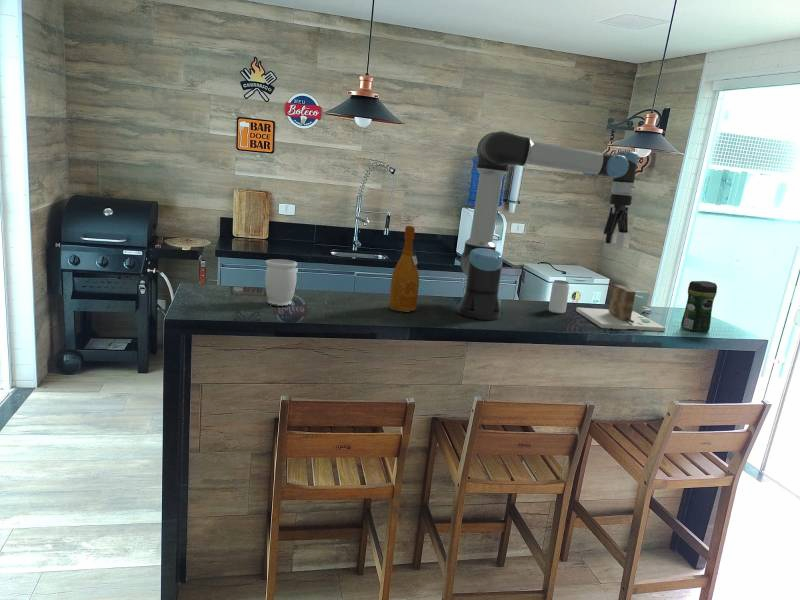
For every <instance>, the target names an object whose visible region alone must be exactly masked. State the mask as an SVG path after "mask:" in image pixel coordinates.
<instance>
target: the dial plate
mask: <svg viewBox="0 0 800 600" xmlns="http://www.w3.org/2000/svg"><path fill="white" fill-rule="evenodd" d="M575 311H576V312H577V313H579V315H582V316H583V317H584V318H586V319H587V320H589V321H590V322H592V323H594V324H595V325H596V326H598V327H599V328H601V329H611V328H612V329H613V330H627V329H638V330H637V331H643V330H652V331H651V332H659V331H665V332H666V327H665V326H663V325H661V324H659V323H657V322H655V321H653V320H652V319H650V318H648V317H646V316H644V315H642V314H641V315H640V314H639V313H637V312H635V311H632V314H631V320H633V321H634V323H631V322H630V321H625V320H621V319H619V318H618V317H616V316H614V315H613V314H611V313H609V308H608V309H607V308H595V307H594V308H590V307H578V306H577V307H576V309H575ZM653 330H654V331H653Z"/></svg>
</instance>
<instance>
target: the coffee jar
mask: <svg viewBox="0 0 800 600" xmlns="http://www.w3.org/2000/svg"><path fill="white" fill-rule="evenodd" d="M717 290H718V286H717V284H716V283H715V282H711V281H707V280H691V281H690V282H689V284H688V288H687V300H686V303H685V304H686V305H685V308H684V312H683V316H682V319H681V323H680V327H681V328H682V329H683V328H684V329H683V330H685V329H686V331H692V332H696V333H702V332H708V331H710V328H711V323H712V322H711V320H712V313H713V312H712V311H713V306H714V301H715V297H716V296H717V292H718V291H717Z"/></svg>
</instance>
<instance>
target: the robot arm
mask: <svg viewBox="0 0 800 600" xmlns="http://www.w3.org/2000/svg"><path fill="white" fill-rule="evenodd" d="M476 155H477V161H476V167H475V169H476V170H477V172H478V174H479V176H478V182H477V189H476V195H475V202H474V210H473V215H472V216H473V217H472V221H471V229H470V235H469V236H470V237H469V238H468V239H467V240H465V242H464V249H463V251H462V254H461V256H460V268H461V270H462V272H463V274H465V275H466V276H467V277H466V284H465V292H464V294H463V296H462V298H461V301H460V303H459V306H458V312H459V313H460V314H459V313H458V314H459V315H461V314H462V315H461V316H463V315H464V316H463V317H465V316H467V317H466V318H469V317H471V319H474V318H476V319H475V320H483V321H486V320H487V321H492V320H493V321H495V320H498V319H500V318H501V314H502V312H501V311H502V310H501V306H500V301H499V289H500V283H501V282H500V281H501V274H502V267H503V254H502V253H501V252H500V251H497V250H496V249H497V245H496V243H495V242H494V235H495V228H496V224H497V223H496V222H497V216H498V209H499V204H500V198H501V193H502V192H501V191H502V185H503V179H504V177H505V175H507V174H508V173H509V168H510V166H519V167H520V166H521V167H524V166H526V165H533V166H538V167H539V166H540V167H546V168H553V169H558V170H564V171H572V172H577V173H582V174H583V175H585V176H590V177H602V178H604V177H605V178H606V177H607V178H613V179H612V185H611V191H610V192H611V194H610V197H609V199H610V200H609V204H610V205H613V206H612V207H611V206H610V207H609V209H610V210H609V214H608V218H607V221H606V223H605V227H604V231H603V235H605V236H604V237H605V238H604V239H605V240H604V245H603V252H604V253H605V252H606V253H612V250H613V243H614V237H615V235H614V232H615V230H616V227H617V228H618V232H617V233H616V240H615V247H614V250H623V248H624V242H625V235H626V234H628V232H629V230H628V229H629V228H628V226H629V225H628V222H629V221H628V219H629V218H628V213H629V212H628V211H629V207H628V206H631V205H632V199H633V196H632V194H633V192H634V189H635V188H636V186H635V180H636V173H637V167H638V162H639V161H638V160H639V157H638V156H639V155H638V153H637V152H635V151H617V152H616V154H610V153H603V152H599V151H594V150H593V151H592V150H586V149H581V148H576V147H575V148H574V147H569V146H562V145H556V144H551V143H546V142H545V143H544V142H540V141H539V142H538V141H532V139H531V137H527V136H521V135H517V134H514V133H511V132H507V131H504V130H503V131H502V130H499V131H495V132H494V131H493V132H492V131H491V132H490V133H487V134H485V135H483V136H482V138H481V139H480V140H479V142H478V143H477V147H476Z"/></svg>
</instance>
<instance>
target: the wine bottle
mask: <svg viewBox="0 0 800 600" xmlns="http://www.w3.org/2000/svg"><path fill="white" fill-rule="evenodd" d="M403 238H404V240H405V241H404V245H403V249H402V253H401V256H400V257H399V260H398V261H397V263H396V265H395V266H394V270H393V273H392V275H391V281H390V289H389V290H390V292H389V309H391V308H392V309H394V310H399V311H413V312H415V311H416V309H417V304H418V297H419V296H418V295H419V288H420V287H419V285H420V277H419V271H418V267H417V265H418V263H419V262H418V259H417V255H414V254H415V253H414V251H413V241H414V240H415V227H414V226H412V225H408V226H405V229H404V237H403ZM392 309H391V310H392ZM394 310H393V311H394ZM414 310H415V311H414Z"/></svg>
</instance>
